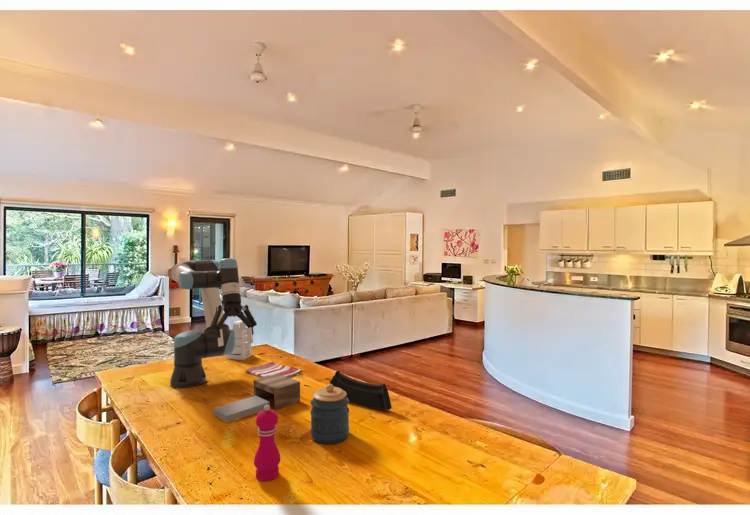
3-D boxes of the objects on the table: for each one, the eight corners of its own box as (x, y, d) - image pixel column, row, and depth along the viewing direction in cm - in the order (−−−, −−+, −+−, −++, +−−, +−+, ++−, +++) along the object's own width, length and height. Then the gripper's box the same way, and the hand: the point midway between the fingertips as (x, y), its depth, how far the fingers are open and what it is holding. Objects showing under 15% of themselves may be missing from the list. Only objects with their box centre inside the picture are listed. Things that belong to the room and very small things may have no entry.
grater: (252, 354, 244) (252, 320, 243) (243, 359, 234) (243, 323, 233) (235, 353, 246) (235, 319, 245) (226, 358, 236) (225, 322, 235)
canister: (318, 448, 135) (318, 393, 134) (305, 432, 146) (305, 381, 145) (355, 439, 141) (355, 386, 140) (340, 424, 152) (340, 375, 151)
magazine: (397, 389, 162) (340, 354, 179) (392, 392, 160) (335, 356, 176) (386, 428, 166) (331, 390, 183) (381, 431, 163) (326, 392, 180)
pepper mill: (256, 468, 122) (256, 400, 122) (282, 467, 123) (281, 399, 122) (251, 483, 115) (250, 410, 114) (278, 481, 116) (278, 409, 115)
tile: (213, 416, 160) (213, 408, 160) (255, 402, 173) (255, 395, 173) (226, 424, 153) (226, 415, 153) (269, 409, 167) (269, 401, 166)
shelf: (253, 399, 176) (253, 379, 176) (277, 391, 185) (276, 373, 184) (276, 409, 165) (276, 389, 165) (300, 401, 174) (300, 381, 174)
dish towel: (272, 365, 225) (272, 360, 224) (303, 374, 211) (303, 369, 210) (245, 373, 211) (245, 368, 211) (276, 383, 197) (276, 377, 197)
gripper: (207, 291, 169) (212, 345, 164) (261, 292, 188) (267, 340, 183) (198, 296, 173) (202, 348, 168) (251, 296, 192) (257, 343, 187)
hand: (236, 344), depth 175 cm, fingers open, 13 cm apart
